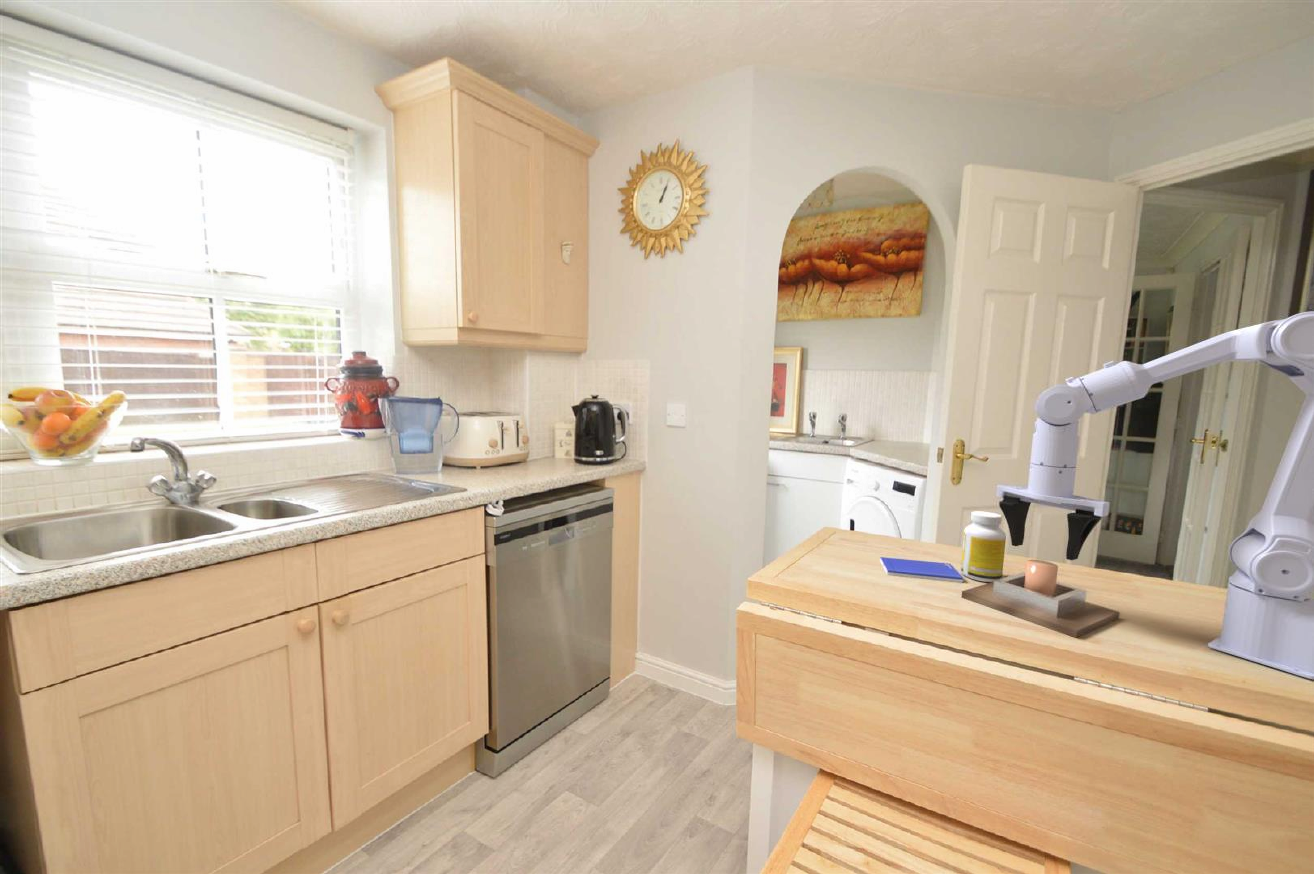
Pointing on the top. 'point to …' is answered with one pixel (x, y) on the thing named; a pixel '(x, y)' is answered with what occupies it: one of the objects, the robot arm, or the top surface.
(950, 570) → the hard drive
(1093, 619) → the mount board
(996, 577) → the pill bottle
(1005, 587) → the steel collar
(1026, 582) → the terracotta peg
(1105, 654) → the top surface
